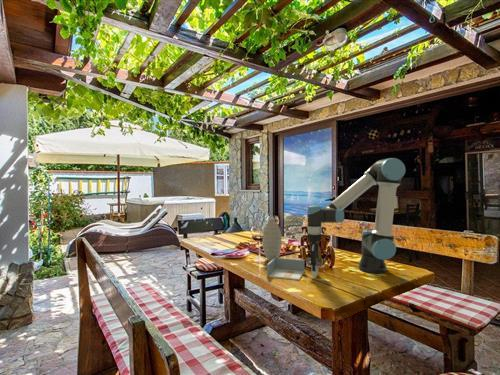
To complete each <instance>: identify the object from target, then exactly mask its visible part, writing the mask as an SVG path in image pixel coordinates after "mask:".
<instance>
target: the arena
mask: <svg viewBox="0 0 500 375" xmlns="http://www.w3.org/2000/svg"><path fill="white" fill-rule="evenodd" d="M304 273H305V259H296V258H287V257H285V258H284V257H278V258H276V257H275V258H273V259H272V260H271V261H268V263H267V264H266V277H267V278H273V279H274V278H276V279H282V280H291V281H292V280H293V281H300V279H301V278H302V276H303V275H304Z"/></svg>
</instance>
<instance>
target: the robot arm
mask: <svg viewBox="0 0 500 375" xmlns="http://www.w3.org/2000/svg"><path fill="white" fill-rule="evenodd" d="M405 174H406V166H405V164H404V163H403V161H402V160H400V159H398V158H396V157H389V158H383V159H379V160H377V161H376V162H375V163H373V164H372V165H371V166H370V167H369V168H368V169H367V170H365V171H364V173H363V176H361V177H360V178H359V179H358V180H356V181H355V182H354V183H353V184H352V185H351V186H349V187H348V188H347V189H346V190H344V191H343V192H342V193H340V195H338V196H337V197H336V198H335V199H333V201H331V202H330V203H329V204H328V205H326V206H323V207H322V206H321V205H315V204H313V205H309V206H307V213H306V214H307V217H306V218H307V219H306V220H307V227H306V229H307V240H308V242H311V243H310V246H309V247H310V248H309V249H310V258H311V260H310V262H311V264H310V265H311V271H310V272H311V275H310V276H311V277H312V278H317V277H318V276H317V275H319V266H317V265H316V258H317V260H318V261H321V260H320V258H319V256H320V255H319V251H320V250H319V246H320V242H321V241H322V239H323V238H322V233H323V232H322V231H323V230H322V229H323V228H322V227H323V226H322V224H324V223H325V224H328V223H329V224H330V223H332V224H334V223H335V224H339V223H343V222H344V220H345V212H344V210H345V208H347V207H348V206H349V205H351V203H353V202H354V201H355V200H357V199H358V198H359V197H360V196H361V195H363V194H364V193H365V192H366V191H367V190H369V189H370V188H371V187H372V186H376V185H378V193H377V200H376V210H375V222H374V227H373V230H371V229H370V230H363V231H362V232H361V256H360V260H359V262H358V269H359V270H361V271H363V272H365V273H369V274H370V273H371V274H383V273H386V272H387V268H388V266H387V264H386V262H385V261H386V260H390V259H391V258H393V257H394V256H395V254H396V252H397V247H396V244H395V242H394V241H395V235H394V233H393V232H392V230H393V223H394V222H393V221H394V214H395V213H394V211H395V204H396V197H397V196H396V195H397V188H398V187H399V186H401V181H402V178H403V177H404V175H405Z"/></svg>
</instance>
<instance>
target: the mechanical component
mask: <svg viewBox="0 0 500 375" xmlns="http://www.w3.org/2000/svg"><path fill="white" fill-rule="evenodd" d="M304 262H306V265H307V266H309V267H310V266H311V265H310V264H311V257H306V258H305V259H304ZM324 263H325V259H323V258H321V260H320V261H318V260H317V258H316V265H317V266H318V267H322V266H323V265H324Z"/></svg>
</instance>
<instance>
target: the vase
mask: <svg viewBox="0 0 500 375" xmlns="http://www.w3.org/2000/svg"><path fill="white" fill-rule="evenodd" d="M282 238H283V237H282V232H281V228H280V227H279V225H278V222H276V219H275V217H269V218H268V221H267V222H266V225H265V226H264V229H263V233H262V249H263V252H264V255H265V257H266V259H267V261H268V262H270V261H271V260H272V259H273V258H275V257H276V258H280V254H281V251H282V241H283V240H282Z"/></svg>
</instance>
